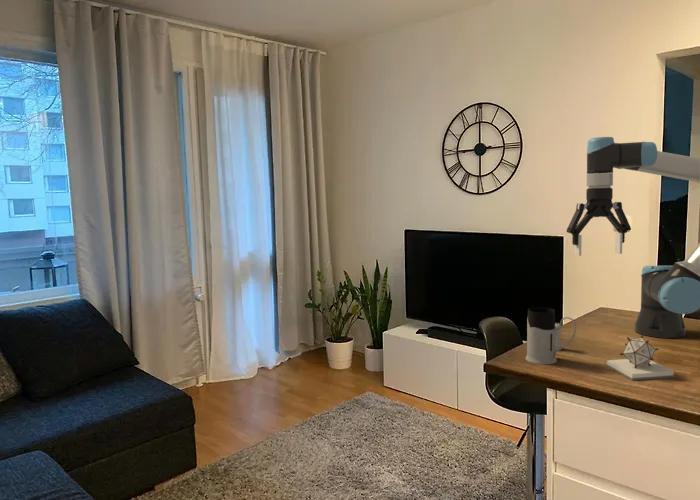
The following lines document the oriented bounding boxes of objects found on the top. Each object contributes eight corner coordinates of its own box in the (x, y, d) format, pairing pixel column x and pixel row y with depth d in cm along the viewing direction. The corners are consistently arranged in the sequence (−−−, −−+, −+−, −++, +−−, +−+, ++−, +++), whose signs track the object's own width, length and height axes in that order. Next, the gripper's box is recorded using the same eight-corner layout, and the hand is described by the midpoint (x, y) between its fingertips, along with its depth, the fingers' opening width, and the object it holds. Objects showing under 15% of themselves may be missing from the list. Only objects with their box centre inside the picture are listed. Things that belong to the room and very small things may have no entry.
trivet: (645, 362, 155) (645, 357, 155) (674, 377, 143) (674, 371, 143) (605, 365, 154) (605, 360, 154) (631, 380, 142) (631, 374, 142)
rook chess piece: (545, 347, 173) (545, 322, 172) (559, 346, 174) (559, 321, 173) (551, 351, 169) (551, 326, 168) (565, 350, 169) (565, 325, 168)
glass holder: (532, 353, 167) (532, 305, 166) (580, 361, 159) (580, 310, 157) (520, 360, 161) (521, 311, 159) (570, 369, 152) (571, 317, 150)
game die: (645, 380, 147) (666, 358, 141) (614, 368, 149) (632, 346, 142) (644, 356, 154) (663, 334, 147) (614, 345, 155) (631, 322, 148)
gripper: (629, 186, 176) (628, 251, 178) (555, 188, 174) (555, 254, 176) (644, 185, 169) (642, 253, 171) (567, 188, 166) (566, 257, 169)
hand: (598, 254), depth 173 cm, fingers open, 13 cm apart
